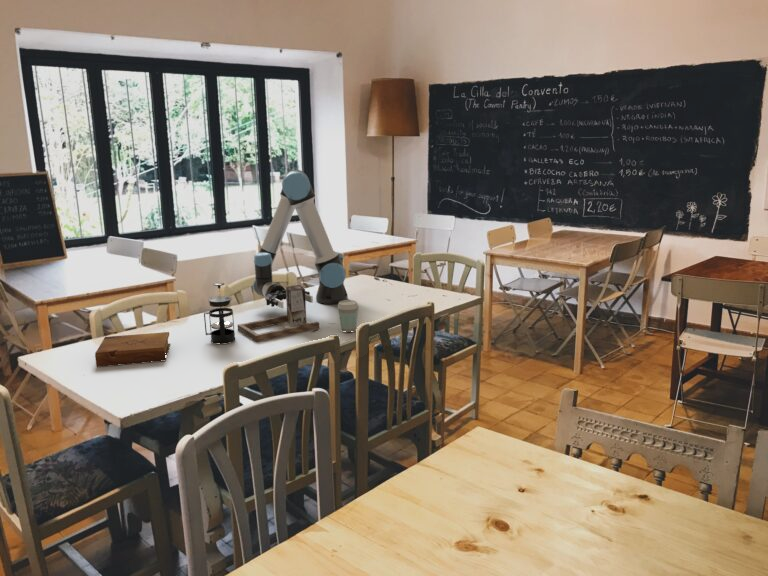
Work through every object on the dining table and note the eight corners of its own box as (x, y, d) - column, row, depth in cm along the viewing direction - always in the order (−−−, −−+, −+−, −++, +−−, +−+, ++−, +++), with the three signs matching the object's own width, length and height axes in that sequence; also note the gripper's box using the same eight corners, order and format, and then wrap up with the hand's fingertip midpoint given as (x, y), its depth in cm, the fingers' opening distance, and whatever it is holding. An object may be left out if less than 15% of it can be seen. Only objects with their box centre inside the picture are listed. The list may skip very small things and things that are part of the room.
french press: (236, 335, 254) (232, 279, 249) (237, 342, 246) (233, 285, 240) (206, 338, 252) (201, 281, 246) (206, 345, 243) (201, 287, 237)
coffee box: (307, 327, 263) (305, 289, 259) (291, 329, 261) (290, 291, 257) (301, 321, 272) (300, 284, 268) (287, 322, 269) (285, 285, 265)
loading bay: (298, 318, 276) (298, 312, 276) (319, 328, 262) (319, 322, 261) (237, 330, 261) (237, 324, 260) (256, 341, 246) (255, 335, 246)
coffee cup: (360, 327, 262) (359, 299, 259) (357, 334, 254) (356, 305, 251) (339, 327, 263) (339, 299, 260) (336, 334, 255) (335, 305, 252)
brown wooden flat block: (96, 369, 222) (94, 353, 221) (106, 351, 240) (104, 336, 238) (165, 362, 227) (164, 347, 225) (170, 345, 245) (169, 331, 243)
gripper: (299, 295, 286) (323, 306, 269) (248, 305, 272) (270, 316, 255) (299, 279, 284) (323, 288, 268) (247, 288, 270) (269, 298, 253)
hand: (297, 302), depth 261 cm, fingers open, 13 cm apart
